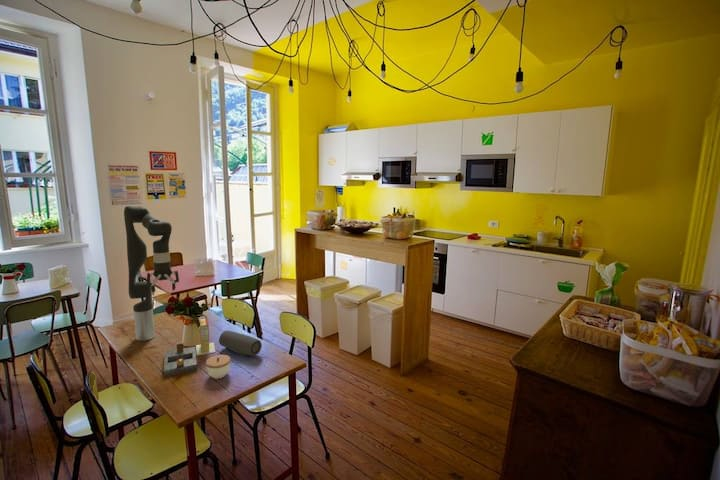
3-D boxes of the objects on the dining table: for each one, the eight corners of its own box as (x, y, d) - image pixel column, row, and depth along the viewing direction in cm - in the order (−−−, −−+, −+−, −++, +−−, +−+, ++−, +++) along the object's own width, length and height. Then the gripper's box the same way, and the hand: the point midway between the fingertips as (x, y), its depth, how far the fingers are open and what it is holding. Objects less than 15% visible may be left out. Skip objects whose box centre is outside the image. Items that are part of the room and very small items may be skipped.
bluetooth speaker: (262, 353, 187) (262, 336, 185) (249, 361, 178) (249, 343, 177) (231, 343, 197) (231, 326, 195) (218, 350, 189) (217, 333, 187)
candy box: (200, 345, 193) (199, 319, 190) (209, 344, 195) (207, 318, 192) (201, 352, 185) (200, 325, 182) (210, 351, 187) (208, 324, 184)
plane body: (165, 356, 180) (164, 344, 179) (195, 351, 187) (194, 339, 185) (163, 376, 163) (162, 362, 162) (197, 370, 169) (196, 356, 168)
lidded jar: (212, 368, 171) (211, 350, 169) (234, 369, 170) (233, 351, 169) (202, 381, 160) (201, 362, 158) (225, 382, 160) (224, 363, 158)
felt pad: (196, 345, 193) (195, 345, 193) (213, 342, 197) (213, 342, 197) (196, 355, 182) (196, 355, 182) (215, 352, 186) (215, 351, 186)
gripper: (144, 263, 172) (147, 295, 175) (177, 261, 178) (179, 291, 181) (146, 260, 179) (148, 290, 181) (177, 258, 185) (179, 287, 188)
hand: (164, 291), depth 181 cm, fingers open, 8 cm apart
